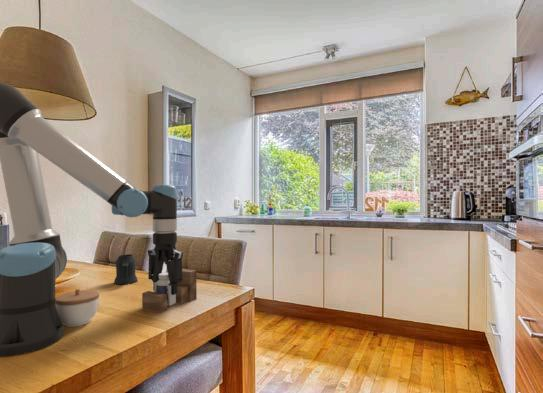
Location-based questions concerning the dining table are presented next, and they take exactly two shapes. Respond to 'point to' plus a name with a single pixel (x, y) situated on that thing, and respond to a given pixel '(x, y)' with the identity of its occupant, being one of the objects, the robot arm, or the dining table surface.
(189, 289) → the cluster of brown boxes
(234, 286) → the dining table surface
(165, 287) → the pill bottle
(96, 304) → the lidded jar
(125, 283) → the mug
